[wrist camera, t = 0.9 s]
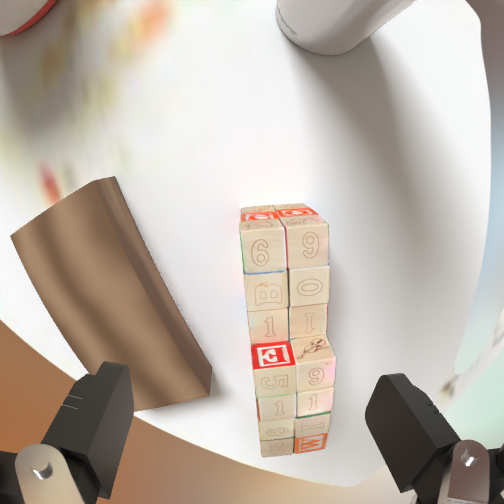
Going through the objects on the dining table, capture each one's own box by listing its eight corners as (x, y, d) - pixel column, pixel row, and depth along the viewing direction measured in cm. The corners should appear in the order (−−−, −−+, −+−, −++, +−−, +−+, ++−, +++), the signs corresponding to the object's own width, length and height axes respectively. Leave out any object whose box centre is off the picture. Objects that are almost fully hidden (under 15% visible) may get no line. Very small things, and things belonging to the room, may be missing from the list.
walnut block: (114, 176, 27) (92, 180, 22) (211, 367, 34) (209, 395, 29) (35, 224, 28) (10, 236, 23) (131, 387, 35) (122, 413, 30)
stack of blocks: (238, 206, 29) (239, 241, 17) (303, 201, 29) (347, 233, 17) (254, 380, 35) (261, 460, 24) (304, 375, 36) (325, 451, 24)
